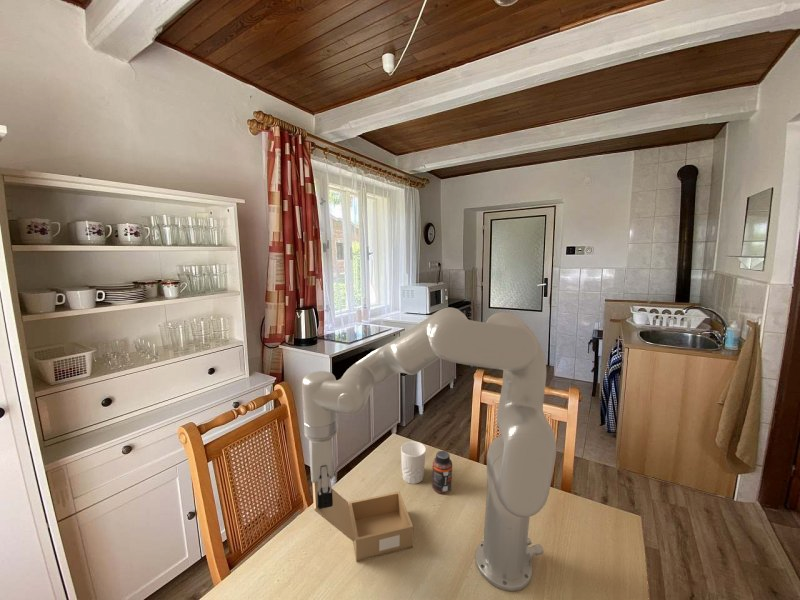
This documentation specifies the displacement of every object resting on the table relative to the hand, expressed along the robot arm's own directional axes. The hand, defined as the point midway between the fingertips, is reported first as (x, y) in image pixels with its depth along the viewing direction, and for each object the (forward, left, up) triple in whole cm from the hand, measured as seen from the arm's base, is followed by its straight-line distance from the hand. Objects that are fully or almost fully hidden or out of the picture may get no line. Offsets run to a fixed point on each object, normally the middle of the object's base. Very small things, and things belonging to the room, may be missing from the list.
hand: (324, 491), depth 81 cm
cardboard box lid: (-2, 0, -4) cm, 5 cm away
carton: (-14, 0, -15) cm, 21 cm away
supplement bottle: (-36, -11, -16) cm, 41 cm away
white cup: (-29, -18, -16) cm, 37 cm away
